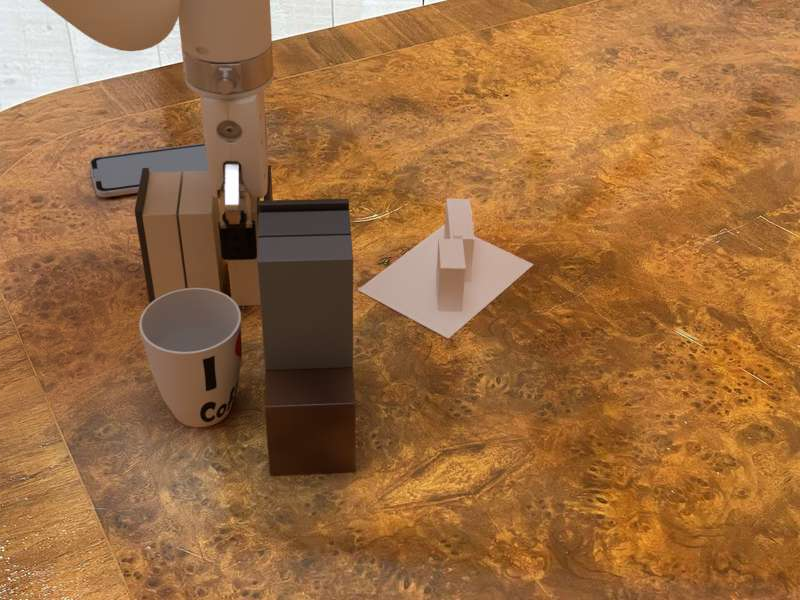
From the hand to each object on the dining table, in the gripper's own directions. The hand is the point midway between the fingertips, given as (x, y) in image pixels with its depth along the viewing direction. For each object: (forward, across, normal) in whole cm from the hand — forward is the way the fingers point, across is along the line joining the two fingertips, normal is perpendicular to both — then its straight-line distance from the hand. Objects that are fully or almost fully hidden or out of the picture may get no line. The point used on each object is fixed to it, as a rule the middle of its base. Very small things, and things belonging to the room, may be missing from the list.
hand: (241, 226), depth 101 cm
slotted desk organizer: (+7, 0, +3) cm, 8 cm away
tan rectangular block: (+7, 0, 0) cm, 7 cm away
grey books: (-1, -17, -6) cm, 19 cm away
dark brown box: (+7, -19, -6) cm, 21 cm away
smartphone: (+7, +20, +10) cm, 23 cm away
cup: (+7, -17, +3) cm, 18 cm away
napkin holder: (+7, 0, -20) cm, 21 cm away
